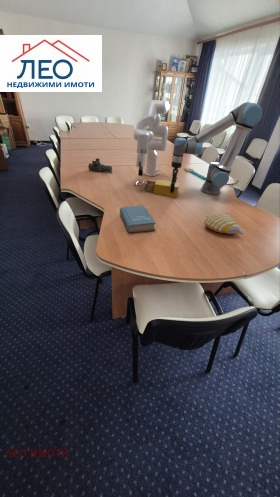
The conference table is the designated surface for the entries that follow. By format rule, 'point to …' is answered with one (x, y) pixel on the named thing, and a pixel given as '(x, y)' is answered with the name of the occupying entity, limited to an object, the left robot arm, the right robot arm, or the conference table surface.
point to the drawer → (146, 185)
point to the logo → (194, 172)
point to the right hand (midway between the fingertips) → (172, 190)
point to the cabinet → (165, 188)
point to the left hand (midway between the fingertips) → (140, 175)
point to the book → (137, 219)
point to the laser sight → (99, 166)
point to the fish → (223, 224)
